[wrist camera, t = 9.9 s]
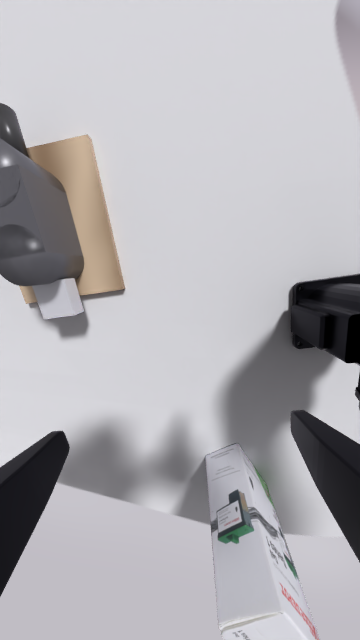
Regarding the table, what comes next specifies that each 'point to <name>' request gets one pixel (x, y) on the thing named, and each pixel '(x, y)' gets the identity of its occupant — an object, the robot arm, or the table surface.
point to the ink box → (251, 556)
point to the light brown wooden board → (83, 212)
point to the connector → (36, 227)
